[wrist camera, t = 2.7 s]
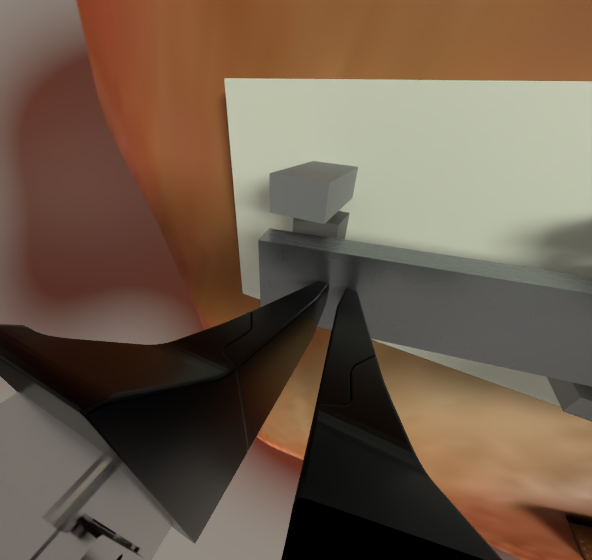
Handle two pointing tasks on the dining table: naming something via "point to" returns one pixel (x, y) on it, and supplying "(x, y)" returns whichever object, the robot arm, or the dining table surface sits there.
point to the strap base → (422, 179)
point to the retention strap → (443, 301)
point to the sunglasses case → (582, 538)
